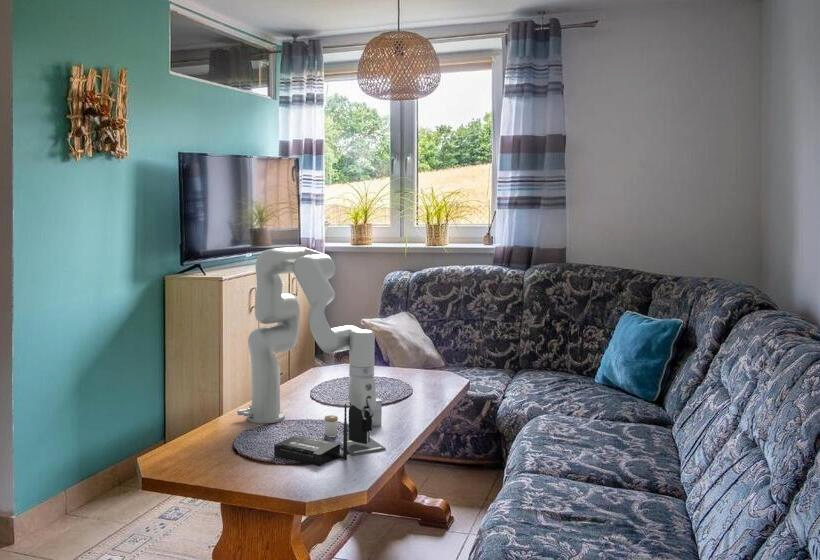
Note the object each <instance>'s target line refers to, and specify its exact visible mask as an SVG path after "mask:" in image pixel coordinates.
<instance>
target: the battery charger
mask: <svg viewBox="0 0 820 560" xmlns="http://www.w3.org/2000/svg"><path fill="white" fill-rule="evenodd" d="M366 408H368V407H364V409H366ZM367 412H368V411H365V415H366V413H367ZM362 419H363V416H362V411H361V410H360V409H358V408H357V407H355V406H354V405H351V406H350V405H349V409H348V441H354V442H358V443H363V444H368V443H369V442H370V438H371V437H370V431H369V432H362V431H361V429H362Z"/></svg>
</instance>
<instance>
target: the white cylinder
mask: <svg viewBox="0 0 820 560" xmlns="http://www.w3.org/2000/svg"><path fill="white" fill-rule="evenodd" d="M338 420H339V417H338V415H334V414H332V415H325V416H324V436H325V435H327V436H335V435H337V436H338Z"/></svg>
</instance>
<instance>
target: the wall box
mask: <svg viewBox="0 0 820 560" xmlns="http://www.w3.org/2000/svg"><path fill="white" fill-rule="evenodd" d="M383 403H384V400H383V399H381V398H379V397H378V396H376V408H375V411H374V414H373V418H372V428H374V427H379V426H381V427H382V412H383V411H382V409H383V408H382V407H383V406H382V405H383Z"/></svg>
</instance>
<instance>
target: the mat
mask: <svg viewBox="0 0 820 560" xmlns="http://www.w3.org/2000/svg"><path fill="white" fill-rule="evenodd" d="M336 443H338V444H340V446H342V447H343V441H340V442H339V441H337V442H336ZM386 449H387V448H386V447H385V446H383V445H381V444H380V443H379V442H377V441H376V440H374V439H373V438H371V437H370V442H369V443H368V444H363V443H358V442H354V441H350V440H347V451H348V452H347V454H349V455H351V457H352V456H353V457H354V456H360V455H363V454H370V453H371V454H372V453H376V452H383V451H386Z"/></svg>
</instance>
